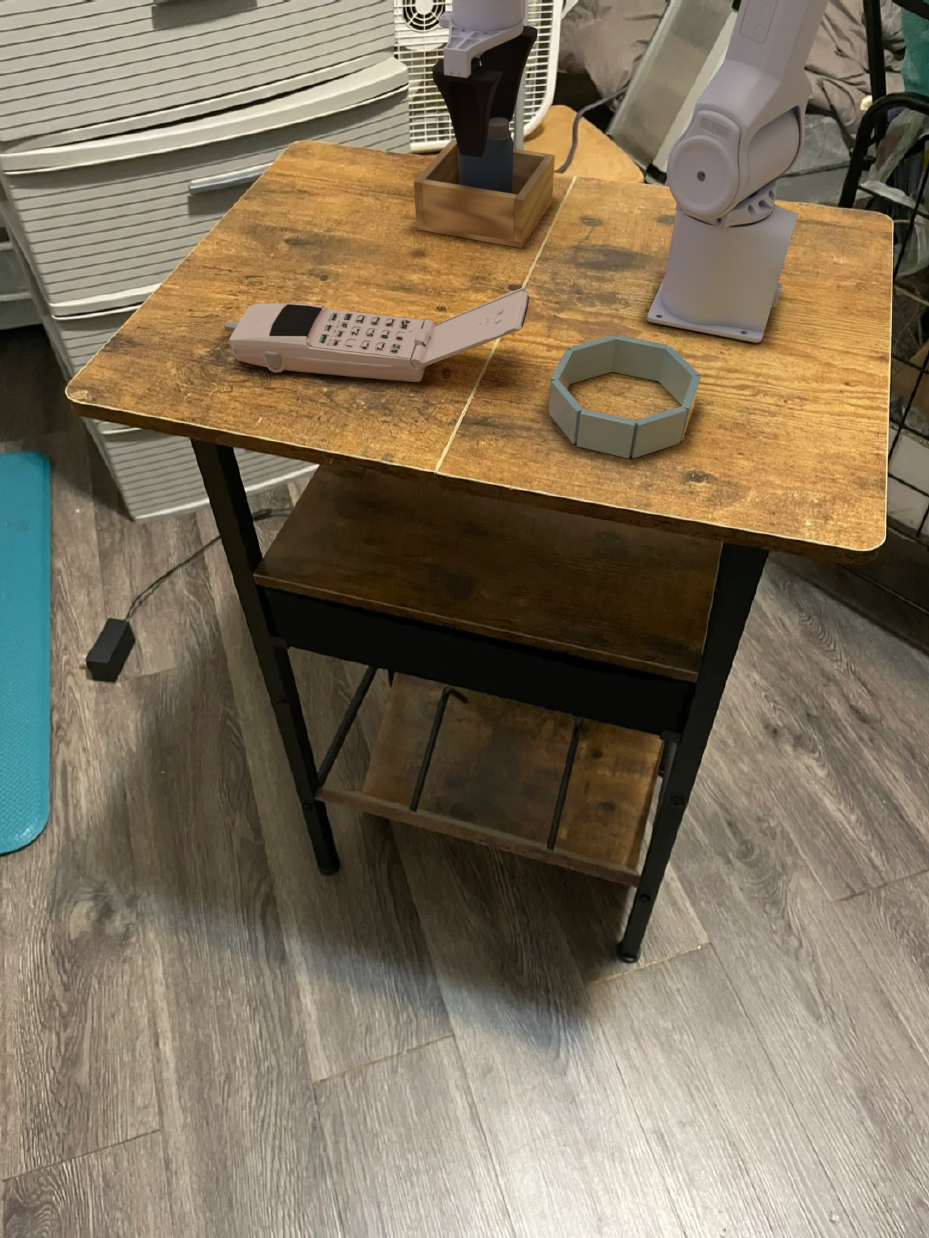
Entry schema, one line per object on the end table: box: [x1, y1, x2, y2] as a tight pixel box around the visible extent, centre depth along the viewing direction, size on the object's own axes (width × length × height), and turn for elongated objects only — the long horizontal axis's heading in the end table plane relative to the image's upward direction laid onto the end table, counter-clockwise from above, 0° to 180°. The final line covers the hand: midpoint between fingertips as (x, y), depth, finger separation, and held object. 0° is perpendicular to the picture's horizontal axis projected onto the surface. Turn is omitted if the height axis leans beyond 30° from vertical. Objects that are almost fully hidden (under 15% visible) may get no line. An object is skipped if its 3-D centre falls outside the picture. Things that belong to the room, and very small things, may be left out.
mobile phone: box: [224, 287, 530, 383], centre depth 67 cm, size 6×6×25 cm
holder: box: [413, 138, 556, 249], centre depth 82 cm, size 11×10×4 cm
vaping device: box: [458, 117, 515, 194], centre depth 79 cm, size 3×5×12 cm, turn 69°
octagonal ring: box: [547, 334, 701, 459], centre depth 64 cm, size 10×10×3 cm
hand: (486, 137), depth 79 cm, fingers open, 7 cm apart
